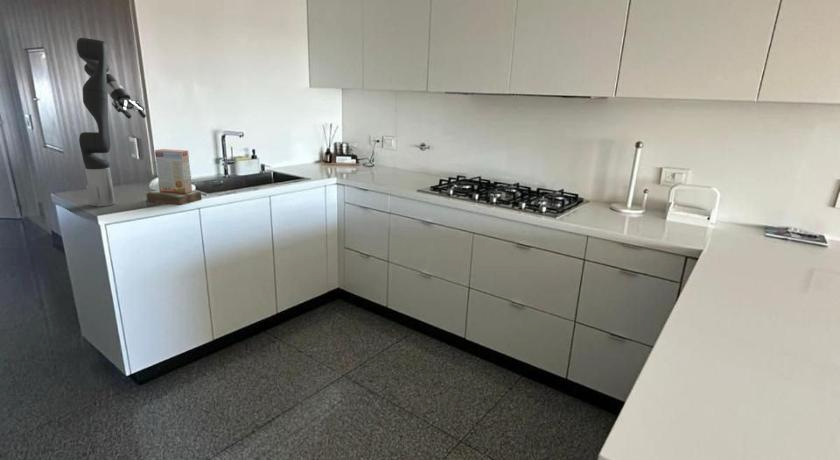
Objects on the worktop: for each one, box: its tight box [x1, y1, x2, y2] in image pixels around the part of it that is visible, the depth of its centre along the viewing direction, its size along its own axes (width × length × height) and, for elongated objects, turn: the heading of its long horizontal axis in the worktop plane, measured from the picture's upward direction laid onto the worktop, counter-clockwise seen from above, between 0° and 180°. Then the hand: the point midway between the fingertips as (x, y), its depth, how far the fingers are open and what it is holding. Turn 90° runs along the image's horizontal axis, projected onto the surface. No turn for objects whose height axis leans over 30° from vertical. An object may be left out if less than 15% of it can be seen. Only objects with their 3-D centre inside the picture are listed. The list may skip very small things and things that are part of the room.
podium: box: [146, 189, 202, 206], centre depth 227 cm, size 14×20×4 cm
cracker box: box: [154, 148, 193, 194], centre depth 224 cm, size 14×6×21 cm, turn 82°
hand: (137, 117), depth 232 cm, fingers open, 8 cm apart
